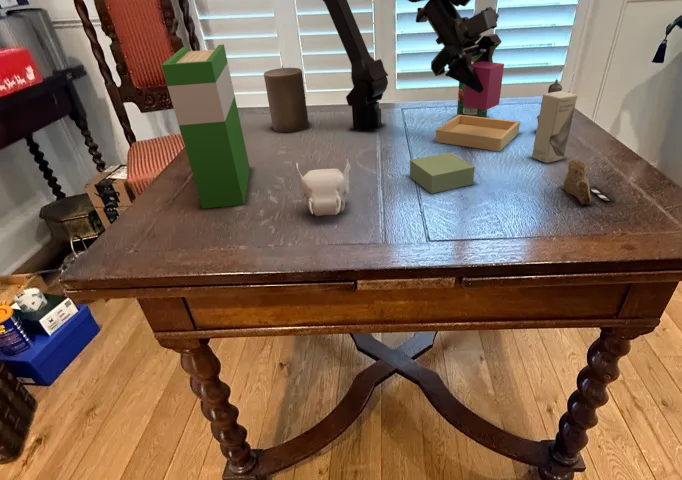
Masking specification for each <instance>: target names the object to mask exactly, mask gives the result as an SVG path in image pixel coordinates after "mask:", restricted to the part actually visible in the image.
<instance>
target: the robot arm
mask: <svg viewBox="0 0 682 480" xmlns="http://www.w3.org/2000/svg"><path fill="white" fill-rule="evenodd" d="M407 1H408V2H410V3H420V2H424V1H426V0H407ZM471 1H472V0H427V2H426V4H424V6H423V7H417V11H416V12H417V13H416V16H415V23H420V24H421V23H427V22H428V24H429V26H430V27H431V28H432V29H433V31H434V33H435V35H436V36H437V38H436V39H435V42H436V44H437V45H438V46H439V45H442V46H443V47H442V48H441V49H440V51H439V52H438V53H437V54H436V55H435V56H434V58H433V59H432V60H431V61H430V70H431V72H432V73H433V75H434V76H435V77H438V76H439V77H440V76H441V75H444V74H445V77H449V78H451V79H453V80H455V81H457V82H458V83H459V82H461V83H463V84H465V85H466V86H468V87H470V88H471V89H473V90H475V91H477V92H478V93H480V92H482V91H483V87H482V84H481V82H480V80H479V78H478V76H477V74H476V72H475V70H474V68H473V66H472V64H473V63H476V62H480V61H485V62H493V63H494V60H493V56H494V53H495V52H494V51H495V50H496V49H497V48H498V47H499V46H500V45H501V44H502V40H501V38H500V36H499V34H497V33H489V34H486V35H483V36H482V35H481V34H483V33H485V32H487V31H489V30H492V29H493V30H494V29H495V28H497V27H498V19H499V17H500V14H499V13H497V12H496V9H494V8H493V7H492V6H488V7H486V8H485V9H482V10H480V12H479V13H477V14H475V15H473V16H471V17H468V16H463V17H462V16H461V14H460V13H459V11H458V9H457V8H456V7H459V6H462V7H467V5H469V3H470V2H471ZM322 2H324V4H325V7H326V9H327V11H328V13H329V16H330V18H331V21H332V23H333V26H334V28H335V29H336V32H337V34H338V37H339V39H340V41H341V43H342V46H343V48H344V51H345V53H346V55H347V57H348V60H349V62H350V65H351V67H350V68H351V71H350V79H351V82H352V86H353V87H352V89H351V90H350V91H349V92H348V94H347V95H346V96H345V100H346V102H347V105H348V106H349V107H351V114H352V115H351V116H352V125H351V126H350V127H349V129H350V130H351V131H363V132H370V133H371V132H375V131H376V130H377V129H378V128H380V127H381V126H383V122H382V108H380V101H381V100H382V99H383V95H384V93H385V92H386V90H387V89H388V85H389V81H388V76H389V74H388V72H387V71H386V70H385V66H384V63H383V61H382V59H381V58H379V59H376V60H375V59H374V58H373V57H372V56H371V54H370V52H369V50H368V48H367V45H366V42H365V40H364V38H363V35H362V33H361V31H360V28H359V25H358V24H357V21H356V19H355V16H354V14H353V12H352V9H351V7H350V4H349V2H348V0H322ZM446 66H447V69H448V70H447V72H446Z"/></svg>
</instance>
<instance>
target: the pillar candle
mask: <svg viewBox="0 0 682 480" xmlns="http://www.w3.org/2000/svg"><path fill="white" fill-rule="evenodd" d="M263 78H264V85H265V88H266V95H267V96H266V97H267V101H268V108H269V113H270V119H271V125H272V129H273V130H274V131H276V132H278V133H279V132H280V133H292V132H299V131H303V130H305V129H307V128H308V127H309V126H310V124H309V123H310V122H309V116H308V107H307V102H306V101H307V100H306V92H305V83H304V75H303V70H302V69H301V68H299V67H284V65H281V67H278V68H274V69H269V70H267V71H264V73H263Z"/></svg>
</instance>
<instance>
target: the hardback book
mask: <svg viewBox="0 0 682 480" xmlns="http://www.w3.org/2000/svg"><path fill="white" fill-rule="evenodd" d="M161 69H162V73H163V77H164V80H165V84H166V86H167V90H168V93H169V96H170V97H169V98H170V100H171V104H172V107H173V110H174V114H175V117H176V121H177V125H178V128H179V132H180V135H181V139H182V142H183V146H184V149H185V152H186V155H187V159H188V163H189V166H190V170H191V173H192V177H193V180H194V183H195V187H196V190H197V194H198V197H199V200H200V204H201V208H202V209H203V210H204V209H211V208H221V207H233V206H240V205H244V204H245V200H246V193H247V188H248V183H249V177H250V172H251V167H250V164H249V163H250V162H249V158H248V152H247V147H246V143H245V139H244V134H243V133H244V132H243V129H242V124H241V119H240V115H239V109H238V104H237V100H236V96H235V91H234V86H233V81H232V77H231V71H230V66H229V62H228V57H227V52H226V48H225V44H218V45H217V46H216V47H215V49H203V50H189V46H183V47H181V48H180V49H179V50H178V51H176V52H175V53H173V55H172V56H170V57H169V58H168V59H167V60H166V61H164V62H163V63H162V64H161Z"/></svg>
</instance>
